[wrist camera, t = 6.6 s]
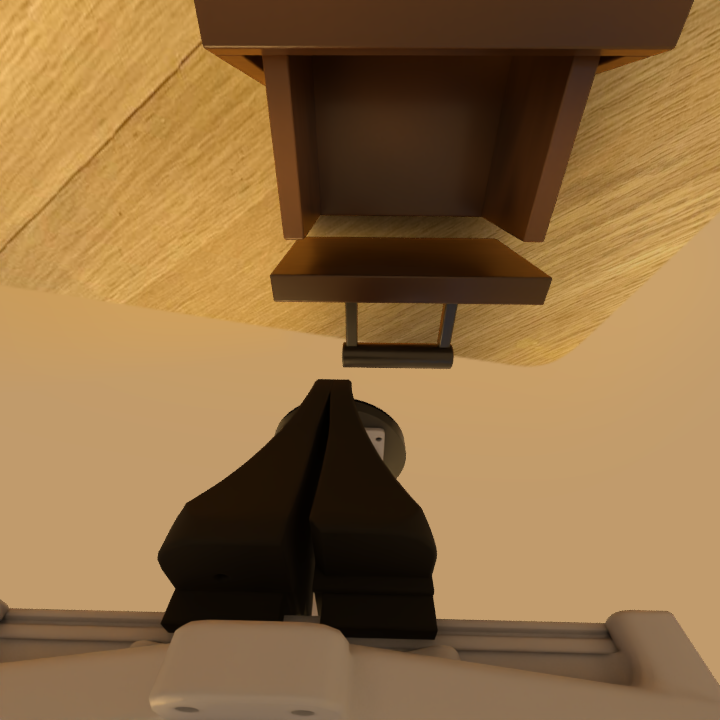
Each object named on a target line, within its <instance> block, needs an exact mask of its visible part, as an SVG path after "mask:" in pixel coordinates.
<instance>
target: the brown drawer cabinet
mask: <svg viewBox="0 0 720 720" xmlns="http://www.w3.org/2000/svg"><path fill="white" fill-rule="evenodd" d="M693 2H694V0H194V3H195V8H196V13H197V18H198V24H199V29H200V34H201V39H202V44H203V47H204V48H205V49H206V50H208V51H210V52H211V53H213V54H215V55H216V56H218V57H219V58H221V59H222V60H224V61H226V62H227V63H229V64H231V65H232V66H234V67H235V68H237V69H239V70H240V71H242V72H244V73H245V74H247V75H248V76H250V77H252V78H253V79H255V80H257V81H258V82H260V83H261V84H263V85H265V77H264V68H263V60H262V55H466V56H601V57H600V60H599V63H598V67H597V70H596V73H595V75H596V74H599V73H602V72H605V71H608V70H611V69H614V68H617V67H620V66H623V65H626V64H629V63H632V62H635V61H639V60H642V59H645V58H648V57H650V56H654V55H657V54H660V53H663V52H666V51H669V50H672V49H674V48H675V46H676V44H677V42H678V39H679V37H680V34H681V32H682V29H683V27H684V24H685V22H686V19H687V17H688V14H689V12H690V9H691V7H692V4H693ZM265 86H266V85H265Z"/></svg>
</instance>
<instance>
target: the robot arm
mask: <svg viewBox="0 0 720 720" xmlns="http://www.w3.org/2000/svg"><path fill="white" fill-rule="evenodd" d="M351 384H352V383H351V381H349V380H330V379H318V380H317V381H316V382H315V383H314V385H313V387H312V389H311V390H310V392H309V393H308V395H307V396H306V398H305V399H304V401H303V402H302V403H301V405H300V406H299V408H298V409H297V410H296V412H295V413H294V414H293V415H292V417H291V418H290V419H289V420H288V421H287V423H286V424H285V425H284V426H283V427H282V429H281V430H280V431H279V432H278V433H277V434H276V435H275V436H274V437H273V438H272V439H271V440H270V441H269V442H268V443H267V444H266V445H265V446H264V447H263V448H262V449H261V450H260V451H259V452H257V453H256V454H255V455H254V456H253V457H252V458H251V459H250V460H248V461H247V462H246V463H245V464H244V465H242V466H241V467H240V468H238V469H237V470H236V471H235V472H233V473H232V474H230V475H229V476H228V477H226V478H225V479H224V480H222V481H221V482H219V483H218V484H216V485H215V486H213V487H212V488H210V489H209V490H207V491H205V492H204V493H202V494H201V495H199V496H197V497H196V498H194V499H193V500H191V501H189V502H187V503H186V505H185V506H184V508H183V510H182V511H181V513H180V514H179V515H178V517H177V518H176V520H175V522H174V524H173V526H172V527H171V529H170V531H169V533H168V535H167V537H166V539H165V541H164V543H163V545H162V547H161V549H160V551H159V553H158V562H159V564H160V566H161V569H162V570H163V571H164V573H165V574H166V576H167V577H168V579H169V580H170V581H171V583H172V584H173V586H174V587H175V591H174V593H173V596H172V598H171V600H170V602H169V605H168V607H167V609H166V612H133V611H132V612H129V611H92V610H51V609H13V608H12V609H11V608H9V607H8V605H7V604H6V603H4V602H3V601H2V600H0V720H720V685H719V684H718V682H717V681H716V679H715V678H714V676H713V675H712V673H711V672H710V670H709V669H708V667H707V666H706V664H705V663H704V661H703V660H702V658H701V656H700V655H699V653H698V652H697V651H696V649H695V647H694V646H693V644H692V643H691V641H690V640H689V638H688V637H687V635H686V634H685V632H684V631H683V629H682V628H681V626H680V625H679V623H678V621H677V620H676V618H675V617H674V615H673V614H672V613H670V612H668V611H644V610H642V611H641V610H627V611H626V610H625V611H620V612H616V613H614V614H612V615H611V616H610V617H609V618H608V619H607V621H606V623H575V622H574V623H572V622H535V621H494V620H454V619H453V620H452V619H436V615H435V608H434V601H433V595H434V587H433V580H432V573H433V570H434V566H435V562H436V559H437V550H436V545H435V542H434V538H433V535H432V532H431V529H430V527H429V524H428V522H427V520H426V517H425V515H424V513H423V510H422V508H421V507H420V506H419V505H418V504H417V503H416V502H415V501H414V500H413V499H412V497H411V496H410V495H409V494H408V493H407V492H406V491H405V489H404V488H403V487H402V486H401V484H400V483H399V482H398V481H397V480H396V478H395V477H394V475H393V474H392V473H391V471H390V470H389V468H388V467H387V466H386V464H385V463H384V462H383V455H384V440H385V431H384V430H383V429H382V428H364V426H363V423H362V421H361V419H360V416H359V413H358V411H357V408H356V405H355V402H354V398H353V394H352V387H351V386H352V385H351ZM377 437H380V438H377Z"/></svg>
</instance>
